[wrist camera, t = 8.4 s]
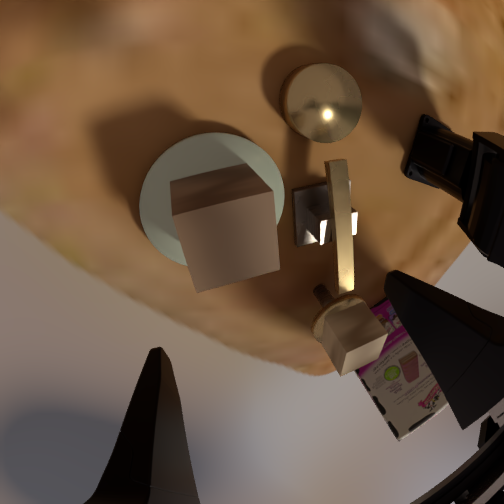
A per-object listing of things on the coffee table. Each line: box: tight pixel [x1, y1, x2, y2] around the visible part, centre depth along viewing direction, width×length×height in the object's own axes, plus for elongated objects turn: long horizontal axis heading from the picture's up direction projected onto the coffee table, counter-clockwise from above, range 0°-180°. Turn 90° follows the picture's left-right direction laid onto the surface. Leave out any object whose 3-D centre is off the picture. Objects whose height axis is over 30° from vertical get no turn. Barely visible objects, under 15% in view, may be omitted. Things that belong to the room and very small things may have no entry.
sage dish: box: [139, 132, 284, 266], centre depth 19 cm, size 10×10×1 cm
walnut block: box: [170, 163, 280, 293], centre depth 17 cm, size 5×5×5 cm
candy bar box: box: [354, 297, 449, 441], centre depth 28 cm, size 11×5×16 cm, turn 120°
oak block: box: [322, 301, 388, 376], centre depth 22 cm, size 4×4×4 cm
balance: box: [279, 63, 367, 343], centre depth 21 cm, size 24×6×5 cm, turn 8°
